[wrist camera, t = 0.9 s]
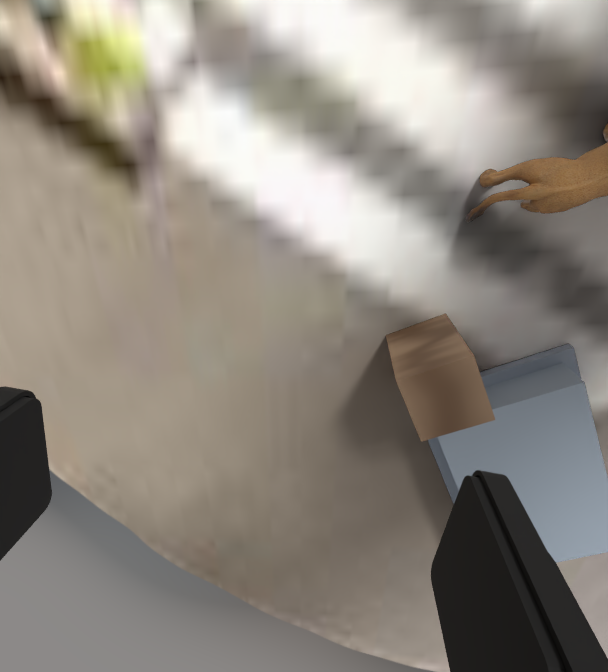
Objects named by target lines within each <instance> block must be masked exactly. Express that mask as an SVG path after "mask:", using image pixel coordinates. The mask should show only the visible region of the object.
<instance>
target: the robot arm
mask: <svg viewBox="0 0 608 672" xmlns="http://www.w3.org/2000/svg"><path fill="white" fill-rule="evenodd" d="M51 496H52V490H51V482H50V474H49V465H48V457H47V448H46V440H45V432H44V423H43V415H42V407H41V403H40V401H39V400H38V399H36V397H35V395H34V394H33V392H31V391H28V390H22V389H16V388H11V387H0V560H1V559H2V558H3V557H4V556H5V555H6V554H7V552H8V551H9V550H10V549H11V548H12V547H13V546H14V545H15V543H16V542H17V541H18V540H19V539H20V538H21V537H22V535H24V533H25V532H26V531H27V530H28V529H29V528H30V527H31V526H32V524H33V523H34V522H35V521H36V520H37V519H38V518H39V516H40V515H41V514H42V513H43V512H44V511H45V510H46V508H47V507H48V505H49V503H50V500H51ZM431 581H432V586H433V591H434V596H435V601H436V605H437V610H438V615H439V620H440V624H441V629H442V634H443V639H444V643H445V648H446V653H447V657H448V662H449V667H450V672H608V659H607V657H606V655H605V653H604V651H603V649H602V647H601V646H600V644H599V642H598V640H597V638H596V636H595V634H594V633H593V631H592V629H591V627H590V625H589V623H588V622H587V620H586V618H585V616H584V614H583V612H582V610H581V609H580V607H579V605H578V603H577V601H576V599H575V598H574V596H573V594H572V592H571V590H570V588H569V586H568V585H567V583H566V581H565V579H564V577H563V575H562V573H561V572H560V570H559V568H558V566H557V564H556V562H555V561H554V559H553V558H552V556H551V555H550V554H549V553H548V551H547V549H546V548H545V546H544V544H543V542H542V540H541V538H540V536H539V534H538V533H537V531H536V529H535V527H534V525H533V523H532V521H531V520H530V518H529V516H528V514H527V512H526V510H525V508H524V506H523V505H522V503H521V501H520V499H519V497H518V495H517V493H516V492H515V490H514V488H513V486H512V484H511V482H510V480H509V479H508V477H507V476H505V475H503V474H498V473H492V472H486V471H481V470H476V471H475V472H474V473H473V475H472V476H469V475H467V476H465V477H464V479H463V481H462V484H461V487H460V489H459V492H458V495H457V498H456V500H455V503H454V506H453V508H452V511H451V514H450V517H449V519H448V522H447V525H446V527H445V530H444V533H443V536H442V538H441V541H440V544H439V547H438V549H437V552H436V555H435V557H434V560H433V563H432V568H431Z"/></svg>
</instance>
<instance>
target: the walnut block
mask: <svg viewBox="0 0 608 672" xmlns="http://www.w3.org/2000/svg"><path fill="white" fill-rule="evenodd" d="M386 339H387V343H388V347H389V352H390V356H391V361H392V365H393V370H394V374H395V379H396V382H397V385H398V387H399V389H400V392H401V394H402V397H403V399H404V402H405V404H406V406H407V409H408V411H409V414H410V416H411V419H412V421H413V423H414V426H415V428H416V431H417V433H418V435H419V438H420V440H421V442H422V441H425V440H429V439H432V438H436V437H439V436H442V435H446V434H449V433H453V432H456V431H459V430H463V429H466V428H470V427H473V426H477V425H480V424H483V423H487V422H490V421H494V420H495V417H494V414H493V411H492V408H491V405H490V402H489V399H488V396H487V393H486V390H485V387H484V384H483V381H482V378H481V375H480V372H479V369H478V366H477V363H476V360H475V357H474V355H473V353H472V352H471V350H470V349H469V347H468V346H467V344H466V343H465V341H464V340H463V338H462V337H461V335H460V334H459V333H458V331H457V330H456V328H455V327H454V325H453V324H452V322H451V321H450V319H449V318H448V316H447V315H446V314H443V315H440V316H437V317H435V318H432V319H429V320H426V321H424V322H421V323H418V324H415V325H413V326H410V327H407V328H405V329H402V330H399V331H396V332H394V333H391V334H388V335H386Z"/></svg>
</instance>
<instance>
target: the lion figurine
mask: <svg viewBox="0 0 608 672" xmlns="http://www.w3.org/2000/svg"><path fill="white" fill-rule="evenodd" d="M603 135H604V139H605V140H606V141H607V143H606V144H604V145H602V146H600V147H597V148H595V149H593V150H591V151H589V152H587V153H585V154H583V155H582V156H580V157H579V158H577V159H576V160H572V159H567V158H559V157H550V158H543V159H534V160H530V161H526V162H523V163H520V164H517V165H515V166H513V167H510V168H508V169H505V170H502V171H500V172H497V171H496V170H492V169H489V170H486V171H485V172H483V173H482V174H481V176H480V184H481V186H482V187H484V188H486V187H490V186H496V185H499V184H501V183H503V182H505V181H508V180H523V181H525V182H527V183H529V184H530V185H529V186H527V187H524V188H521V189H516V190H509V191H504V192H500V193H496V194H493V195H491V196H489V197H488V198H487V199H485V200H484V201H483V202H482V203H481V204H480V205H479V206H478V207H476V208H474V209H472V210H471V211H470V213H469V214H468V215H467V216H466V221H467V222H471V221H473V220H474V219H475V218H477V217H479V216H481V215H482V214H483V213H484V211H485V210H486V209H487V207H489V206H490V205H491V204H493V203H495V202H499V201H505V200H523V199H524V201H522V202H521V207H522V208H524V209H526V210H528V211H531V212H541V213H544V214H545V213H555V212H562V211H566V210H568V209H571V208H573V207H576V206H579V205H582V204H584V203H586V202H588V201H590V200H592V199H595V198H598V197H602V196H607V195H608V123H607V125H606V126H605V129H604V131H603Z"/></svg>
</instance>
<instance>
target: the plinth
mask: <svg viewBox="0 0 608 672" xmlns="http://www.w3.org/2000/svg"><path fill="white" fill-rule="evenodd" d="M480 375H481V378H482V381H483V384H484V387H485V390H486V393H487V396H488V399H489V402H490V405H491V408H492V411H493V414H494V417H495V420H494V421H490V422H487V423H483V424H480V425H477V426H473V427H470V428H466V429H463V430H459V431H456V432H453V433H449V434H446V435H442V436H439V437H436V438H432V439H429V440H428V442H429V445H430V447H431V450H432V452H433V455H434V457H435V460H436V462H437V464H438V467H439V469H440V472H441V474H442V477H443V479H444V482H445V484H446V487H447V489H448V492H449V494H450V496H451V499H452V501H453V504H454V503H455V500H456V498H457V495H458V492H459V489H460V487H461V484H462V481H463V479H464V477H465V476H467V475H469V476H472V475H473V473H474V472H475V471H476V470H481V471H486V472H492V473H498V474H503V475H505V476H507V477H508V479H509V480H510V482H511V484H512V486H513V488H514V490H515V492H516V493H517V495H518V497H519V499H520V501H521V503H522V505H523V506H524V508H525V510H526V512H527V514H528V516H529V518H530V520H531V521H532V523H533V525H534V527H535V529H536V531H537V533H538V534H539V536H540V538H541V540H542V542H543V544H544V546H545V548H546V549H547V551H548V553H549V554H550V555H551V556H552V558H553V559H554V561H555V562H561V561H566V560H571V559H576V558H581V557H586V556H591V555H596V554H601V553H606V552H608V477H607V473H606V469H605V465H604V461H603V457H602V453H601V449H600V445H599V440H598V436H597V432H596V428H595V424H594V420H593V416H592V412H591V408H590V403H589V399H588V395H587V391H586V387H585V383H584V381H582V380H581V376H580V372H579V368H578V364H577V360H576V355H575V351H574V348H573V347H572V346H571V345H570V344H566V345H563V346H560V347H557V348H554V349H550V350H547V351H544V352H541V353H538V354H535V355H532V356H529V357H526V358H523V359H519V360H516V361H513V362H510V363H507V364H504V365H501V366H498V367H495V368H492V369H488V370H485V371H482V372H480Z"/></svg>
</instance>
